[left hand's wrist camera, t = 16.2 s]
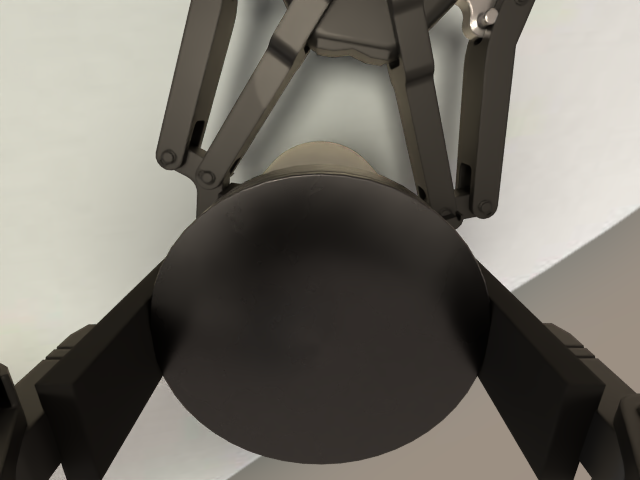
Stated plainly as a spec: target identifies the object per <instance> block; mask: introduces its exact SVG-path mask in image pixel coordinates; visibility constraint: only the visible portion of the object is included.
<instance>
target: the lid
mask: <svg viewBox="0 0 640 480" xmlns="http://www.w3.org/2000/svg"><path fill="white" fill-rule="evenodd" d="M490 325H491V316H490V301H489V296H488V292H487V287H486V282H485V280H484V277H483V275H482V272H481V270H480V267H479V264H478V262H477V261H476V259H475V257H474V255H473V254H472V252H471V250H470V249H469V247H468V245H467V244H466V243H465V241H464V240H463V239H462V238H461V236H460V235H459V234H458V233H457V231H456V230H455V229H454V228H453V227H452V226H451V225H450V224H449V223H448V222H447V221H446V220H445V219H443V218H442V217H441V216H440V215H439V214H438V213H437V212H436V211H435V210H434V209H432V208H431V207H430V206H429V205H428V204H427V203H426V202H425V201H423V200H422V199H421V198H420V197H419V196H417V195H416V194H414V193H413V192H411V191H410V190H408V189H407V188H405V187H404V186H402V185H400V184H398V183H396V182H394V181H392V180H390V179H388V178H386V177H384V176H381V175H378V174H375V173H372V172H369V171H366V170H363V169H358V168H353V167H348V166H343V165H329V164H310V165H298V166H292V167H287V168H282V169H278V170H273V171H271V172H268V173H265V174H262V175H260V176H257V177H254V178H252V179H250V180H248V181H246V182H244V183H242V184H240V185H238V186H237V187H235V188H233V189H232V190H230V191H229V192H228V193H226V194H225V195H223V196H222V197H221V198H219V199H218V200H217V201H215V202H214V203H213V204H212V205H211V206H210V207H209V208H208V209H207V210H205V211H204V212H203V213H202V214H201V215H200V216H199V217H198V218H197V219H196V220H195V221H194V222H193V223H192V224H191V225H190V226H188V227H187V228H186V229H185V230H184V232H183V233H182V234H181V236H180V237H179V238H178V239H177V241H176V242H175V243H174V245H173V246H172V247H171V249H170V251H169V252H168V254H167V256H166V258H165V260H164V262H163V263H162V265H161V267H160V270H159V273H158V276H157V279H156V281H155V284H154V288H153V293H152V299H151V304H150V330H151V336H152V342H153V347H154V352H155V356H156V360H157V363H158V365H159V367H160V370H161V372H162V374H163V376H164V379H165V380H166V382H167V384H168V385H169V387H170V388H171V390H172V392H173V393H174V395H175V396H176V397H177V398H178V400H179V401H180V402H181V403H182V405H183V406H184V407H185V408H186V409H187V410H188V411H189V412H190V413H191V414H192V415H193V416H194V417H195V418H196V419H197V420H198V421H199V422H200V423H202V424H203V425H204V426H206V427H207V428H208V429H210V430H211V431H212V432H214V433H215V434H217V435H218V436H220V437H222V438H223V439H225V440H227V441H228V442H230V443H232V444H234V445H237V446H239V447H241V448H243V449H245V450H247V451H250V452H253V453H256V454H259V455H262V456H265V457H269V458H273V459H277V460H282V461H287V462H294V463H302V464H338V463H346V462H353V461H359V460H363V459H367V458H371V457H375V456H379V455H382V454H384V453H387V452H390V451H393V450H395V449H398V448H400V447H402V446H404V445H406V444H408V443H410V442H412V441H414V440H415V439H417V438H419V437H420V436H422V435H423V434H425V433H427V432H428V431H430V430H431V429H432V428H433V427H435V426H436V425H437V424H439V423H440V422H441V421H442V420H444V419H445V418H446V416H448V415H449V414H450V413H451V412H452V411H453V410H454V409H455V408H456V406H457V405H458V404H459V403H460V401H461V400H462V399H463V398H464V396H465V395H466V394H467V392H468V391H469V389H470V387H471V386H472V384H473V382H474V381H475V379H476V377H477V375H478V373H479V371H480V368H481V366H482V363H483V361H484V358H485V353H486V348H487V343H488V338H489V332H490Z"/></svg>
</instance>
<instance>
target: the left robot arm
mask: <svg viewBox="0 0 640 480" xmlns="http://www.w3.org/2000/svg"><path fill="white" fill-rule="evenodd" d="M475 259H476V258H475ZM164 260H165V259H164ZM164 260H163V261H162V262H160V263H159V264H158V265H157V266H156V267H155V268H154V269H153V270H152V271H151V272H150V273H149V274H148V275H147V276H146V277H145V278H144V279H143V280H142V281H141V282H140V283H139V284H138V285H137V286H136V287H135V288H134V289H133V290H132V291H131V292H130V293H128V294H127V295H126V296H125V297H124V298H123V299H122V300H121V301H120V302H119V303H118V304H117V305H116V306H115V307H114V308H113V309H112V310H111V311H110V312H109V313H108V314H107V315H106V316H105V317H104V318H103V319H102V320H101V321H100V322H99V323H97V324H89V325H87V326H85V327H83V328H82V329H80V330H78V331H76V332H75V333H73V334H71V335H70V336H69V337H67V338H66V339H65V340H64V341H63V342H62V343H61V344H60V345H59V346H58V347H57V349H54V350H53V351H52V352H51V353H50V354H49V355H48V356H47V357H46V359H45V360H42V361H41V362H40V363H39V364H38V365H37V366H36V367H34V368H33V369H32V370H31V371H30V372H29V373H28V374H27V375H26V376H25V377H23V378H22V379H21V380H20V381H19V382H18V383H17V384H16V385H15V386H14V384H13V381H12V378H11V376H10V373H9V370H8V367H6V366H5V365H3V364H1V363H0V480H49V478H50V477H51V476H52V474H53V473H54V471H55V470H56V469H57V467H58V466H59V465H60V463H61V464H62V467H63V470H64V473H65V476H66V479H67V480H102V478H103V477H104V475H105V473H106V472H107V470H108V468H109V466H110V465H111V463H112V461H113V460H114V458H115V456H116V455H117V453H118V451H119V449H120V448H121V446H122V444H123V443H124V441H125V439H126V438H127V436H128V434H129V432H130V431H131V429H132V427H133V426H134V424H135V422H136V420H137V419H138V417H139V415H140V414H141V412H142V410H143V409H144V407H145V405H146V403H147V402H148V400H149V398H150V397H151V395H152V393H153V392H154V390H155V388H156V386H157V385H158V383H159V381H160V380H161V378H162V376H163V374H162V372H161V370H160V367H159V365H158V363H157V360H156V356H155V352H154V347H153V342H152V336H151V330H150V304H151V299H152V293H153V288H154V284H155V281H156V279H157V276H158V273H159V270H160V267H161V265H162V263H163V262H164ZM476 261H477V262H478V264H479V267H480V270H481V272H482V275H483V277H484V280H485V282H486V287H487V292H488V296H489V301H490V316H491V325H490V332H489V338H488V343H487V348H486V353H485V358H484V361H483V363H482V366H481V368H480V371H479V373H478V375H477V376H478V378H479V379H480V381H481V383H482V384H483V386H484V388H485V389H486V391H487V393H488V395H489V396H490V398H491V400H492V401H493V403H494V405H495V406H496V408H497V410H498V412H499V413H500V415H501V417H502V418H503V420H504V422H505V424H506V425H507V427H508V429H509V430H510V432H511V434H512V435H513V437H514V439H515V441H516V442H517V444H518V446H519V447H520V449H521V451H522V452H523V454H524V456H525V458H526V459H527V461H528V463H529V464H530V466H531V468H532V469H533V471H534V473H535V474H536V476H537V478H538V480H574V476H575V474H576V471H577V468H578V465H579V462H581V464H582V465H583V466H584V468H585V469H586V470H587V472H588V473H589V475H590V476H591V477H592V479H591V480H640V394H637V393H635V392H634V391H633V390H632V389H631V388H630V387H629V386H628V385H627V384H625V383H624V382H623V381H622V380H621V379H620V378H619V377H618V376H617V375H616V374H614V373H613V372H612V371H611V370H610V369H609V368H608V367H607V366H606V365H604V364H603V363H602V362H601V361H600V360H599V359H596V358H595V356H594V355H593V354H592V353H591V352H590V351H589V350H588V349H587V348H584V346H583V345H582V344H581V343H580V342H579V341H578V340H577V339H576V338H574V337H573V336H572V335H571V334H570V333H568V332H566V331H565V330H563V329H561V328H559V327H557V326H556V325H554V324H552V323H542V322H541V321H540V320H539V319H538V318H537V317H536V316H534V315H533V314H532V313H531V312H530V311H529V310H528V309H527V308H526V307H525V306H524V305H523V304H522V303H521V302H520V301H519V300H518V299H517V298H516V297H515V296H514V295H513V294H512V293H511V292H510V291H509V290H508V289H507V288H506V287H505V286H503V285H502V284H501V283H500V282H499V281H498V280H497V279H496V278H495V277H494V276H493V275H492V274H491V273H490V272H489V271H488V270H487V269H486V268H485V267H484V266H483V265H482V264H481V263H480V262H479V261H478V260H477V259H476Z"/></svg>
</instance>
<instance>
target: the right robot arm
mask: <svg viewBox="0 0 640 480" xmlns="http://www.w3.org/2000/svg"><path fill="white" fill-rule="evenodd" d="M283 1H284V3H285V6H286V8H287V11H286V13H285V14H284V16H283V18H282V20H281V21H280V23H279V25H278V26H277V28H276V30H275V32H274V33H273V35H272V37H271V40H270V42H269V46H268V48H267V50H266V52H265V54H264V55H263V57H262V59H261V60H260V62H259V64H258V66H257V67H256V69H255V71H254V72H253V74H252V76H251V78H250V79H249V81H248V83H247V84H246V86H245V88H244V89H243V91H242V93H241V95H240V96H239V98H238V100H237V101H236V103H235V105H234V107H233V108H232V110H231V112H230V113H229V115H228V117H227V119H226V120H225V122H224V124H223V125H222V127H221V129H220V131H219V132H218V134H217V136H216V137H215V139H214V141H213V142H212V144H211V146H210V148H209V149H208V151H205V150H203V149H201V144H202V141H203V137H204V133H205V130H206V126H207V122H208V119H209V115H210V111H211V108H212V104H213V100H214V97H215V93H216V90H217V86H218V82H219V79H220V75H221V71H222V68H223V64H224V60H225V57H226V53H227V49H228V46H229V42H230V38H231V35H232V31H233V27H234V23H235V18H236V13H237V4H238V0H191V3H190V7H189V12H188V16H187V20H186V25H185V29H184V33H183V38H182V42H181V46H180V50H179V55H178V59H177V63H176V68H175V72H174V76H173V81H172V85H171V89H170V94H169V98H168V102H167V106H166V111H165V115H164V119H163V124H162V128H161V132H160V137H159V141H158V145H157V150H156V159H157V162H158V163H159V165H160V166H161V167H163V168H164V169H166V170H175V171H177V172H179V173H181V174H183V175H185V176H187V177H188V178H190V179H191V180H192V181H193V182H194V184H195V185H196V188H197V212H196V219H197V218H198V217H199V216H200V215H201V214H202V213H203V212H204V211H205V210H207V209H208V208H209V207H210V206H211V205H212V204H213V203H214V202H215V201H217V200H218V199H219V198H221V197H222V196H223V195H225V194H226V193H228V192H229V191H230V190H232V189H233V188H235V187H237V186H238V185H240V184H236V183H231V184H229V182H230V177H231V176H232V175H233V174H234V173H233V172H234V170H235V169H236V167H237V165H238V164H239V162H240V161H241V159H242V157H243V156H244V154H245V153H246V151H247V149H248V148H249V146H250V144H251V143H252V141H253V140H254V138H255V136H256V135H257V133H258V132H259V130H260V128H261V127H262V125H263V124H264V122H265V120H266V119H267V117H268V116H269V114H270V112H271V111H272V109H273V107H274V106H275V104H276V103H277V101H278V99H279V98H280V96H281V95H282V93H283V91H284V90H285V88H286V87H287V85H288V83H289V82H290V80H291V79H292V77H293V75H294V74H295V72H296V71H297V70H298V69H299V67H300V66H301V64H302V63H303V61H304V60H305V58H306V56H307V55H308V53H309V52H310V50H311V49H312V50H313V51H315V52H317V55H321V56H327V57H341V56H352V57H354V58H356V59H358V60H360V61H362V62H364V63H367V64H372V65H378V66H382V65H383V64H387V67H388V72H389V76H390V80H391V83H392V86H393V87H394V90H395V94H396V99H397V103H398V108H399V112H400V117H401V121H402V126H403V131H404V135H405V140H406V144H407V149H408V153H409V158H410V162H411V167H412V171H413V176H414V180H415V185H416V189H417V194H418V196H419V197H420V198H421V199H422V200H423V201H425V202H426V203H427V204H428V205H429V206H430V207H431V208H432V209H434V210H435V211H436V212H437V213H438V214H439V215H440V216H441V217H442V218H443V219H445V220H446V221H447V222H448V223H449V224H450V225H451V226H452V227H453V228H454V229H457V228H458V227H459V226H460V225H461V224H462V222H463V219H467V218H472V217H478V218H481V219H486V218H489V217H491V216H492V215H493V214H494V213H495V212H496V210H497V207H498V199H499V190H500V182H501V173H502V164H503V155H504V146H505V137H506V128H507V120H508V111H509V102H510V93H511V84H512V75H513V66H514V58H515V49H516V44H517V42H518V39H519V37H520V35H521V32H522V30H523V28H524V25H525V23H526V21H527V18H528V16H529V14H530V11H531V9H532V7H533V4H534V2H535V0H283ZM454 4H455V5H457V6H458V7H459V8H460V9H461V11H462V13H463V23H462V32H463V34H464V36H465V37H466V38H468V39H469V43H468V46H467V50H466V55H465V61H464V72H463V86H462V100H461V115H460V129H459V144H458V158H457V172H456V187H455V189H454V188H453V183H452V178H451V172H450V167H449V161H448V156H447V151H446V145H445V140H444V134H443V129H442V123H441V118H440V113H439V107H438V102H437V96H436V91H435V85H434V80H433V74H434V59H433V54H432V48H431V43H430V37H429V32H428V31H429V30H430V29H431V28H432V27H433V26H434V25H435V24H436V23H437V22H438V21H439V20H440V19H441V18H442V17H443V15H444V14H445V13H446V12H447V11H448V10H449V9H450V8H451V7H452V6H453V5H454Z"/></svg>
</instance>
